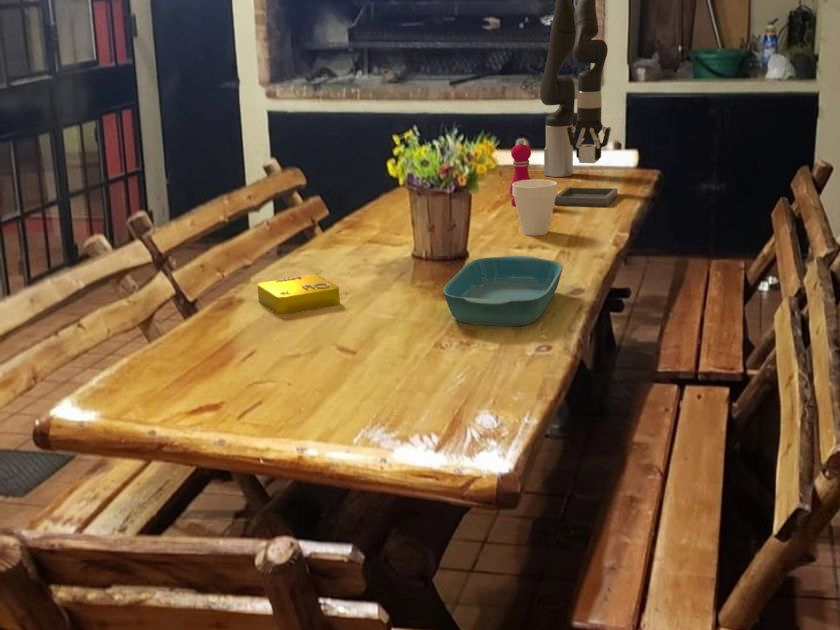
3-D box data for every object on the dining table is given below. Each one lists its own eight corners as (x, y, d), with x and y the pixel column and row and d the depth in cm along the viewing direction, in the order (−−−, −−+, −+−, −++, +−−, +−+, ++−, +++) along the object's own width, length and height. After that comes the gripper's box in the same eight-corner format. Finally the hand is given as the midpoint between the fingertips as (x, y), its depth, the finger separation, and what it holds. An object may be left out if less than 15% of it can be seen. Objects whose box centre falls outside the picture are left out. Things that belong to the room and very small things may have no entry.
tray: (554, 205, 352) (554, 196, 351) (567, 194, 366) (567, 187, 365) (606, 206, 346) (606, 198, 346) (617, 196, 361) (617, 188, 360)
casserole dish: (540, 336, 231) (540, 301, 229) (432, 330, 237) (431, 297, 235) (570, 286, 265) (570, 256, 263) (475, 283, 271) (474, 253, 269)
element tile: (316, 291, 271) (315, 271, 269) (343, 306, 258) (342, 285, 256) (256, 301, 264) (254, 281, 263) (280, 317, 251) (278, 296, 250)
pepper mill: (505, 204, 356) (504, 139, 350) (526, 201, 359) (525, 136, 353) (517, 208, 350) (516, 141, 344) (538, 205, 353) (537, 139, 347)
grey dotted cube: (579, 162, 365) (579, 146, 364) (582, 159, 370) (582, 144, 368) (594, 163, 363) (594, 147, 362) (598, 160, 368) (598, 144, 366)
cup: (555, 238, 311) (555, 187, 307) (510, 237, 313) (509, 187, 309) (559, 227, 322) (559, 179, 318) (515, 227, 325) (514, 179, 321)
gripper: (614, 104, 362) (613, 158, 367) (569, 103, 367) (569, 156, 372) (609, 107, 355) (608, 162, 360) (563, 106, 360) (563, 161, 365)
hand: (588, 159), depth 366 cm, fingers closed on grey dotted cube, 5 cm apart
